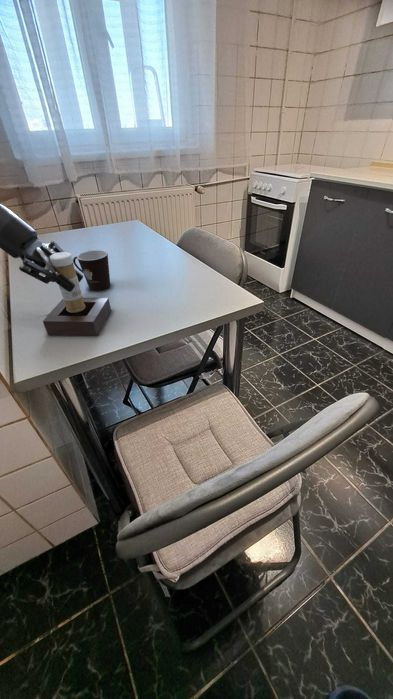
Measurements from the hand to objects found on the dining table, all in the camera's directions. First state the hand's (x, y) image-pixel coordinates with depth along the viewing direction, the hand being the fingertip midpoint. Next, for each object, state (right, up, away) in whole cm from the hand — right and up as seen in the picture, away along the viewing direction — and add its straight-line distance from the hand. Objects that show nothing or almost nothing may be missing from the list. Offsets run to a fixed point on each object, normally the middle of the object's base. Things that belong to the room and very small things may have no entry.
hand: (76, 284), depth 68 cm
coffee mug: (-3, +5, +24) cm, 25 cm away
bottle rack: (-1, -8, +7) cm, 11 cm away
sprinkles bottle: (-2, -5, +4) cm, 7 cm away
